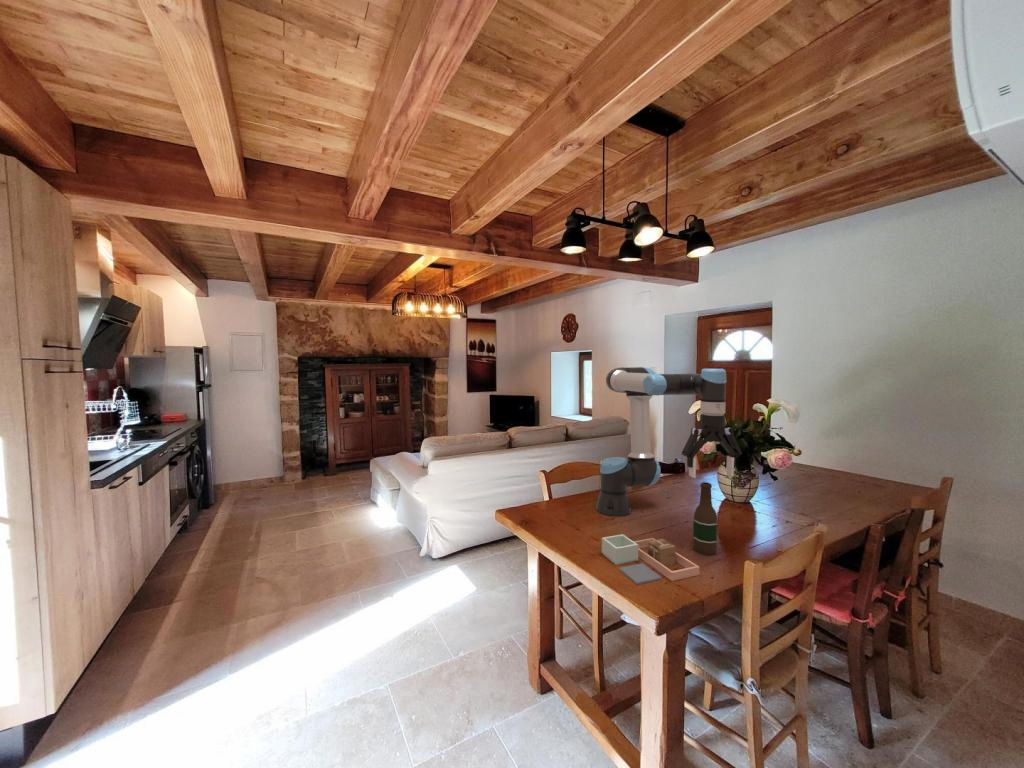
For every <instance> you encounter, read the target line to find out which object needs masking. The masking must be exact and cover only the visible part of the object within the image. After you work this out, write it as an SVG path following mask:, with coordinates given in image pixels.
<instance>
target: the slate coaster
mask: <svg viewBox="0 0 1024 768" xmlns="http://www.w3.org/2000/svg"><path fill="white" fill-rule="evenodd" d="M618 570H619V571H620V573H622V574H623V575H624V576H626V577H627V578H628V579H629V580H630V581H632V582H633V583H634V584H635V585H637V586H638V585H643V584H647V583H652V582H655V581H661V580H662V579H663V577H662V576H661V575H660V574H658V573H657V572H655V571H654V570H652V569H651V568H650V567H648V566H647V565H646V564H644V563H641V562H640V563H637V564H632V565H627V566H623V567H619V568H618Z"/></svg>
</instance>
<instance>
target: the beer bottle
mask: <svg viewBox="0 0 1024 768" xmlns="http://www.w3.org/2000/svg"><path fill="white" fill-rule="evenodd" d="M699 487H700V498H699V503H698V504H699V505H698V506H697V507H696V509H695V511H694V513H693V514H694V515H693V529H692V530H693V532H692V533H693V535H692V537H693V538H692V541H693V542H692V543H693V544H692V545H693V546H692V548H693V550H694V551H695V552H696V553H698V554H699V555H703V556H708V557H711V556H716V554H717V550H718V548H717V546H718V515H717V511H716V510H715V509H714V506H713V502H712V484H711V483H710V482H706V481H703V482H701V483H700V485H699Z"/></svg>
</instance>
